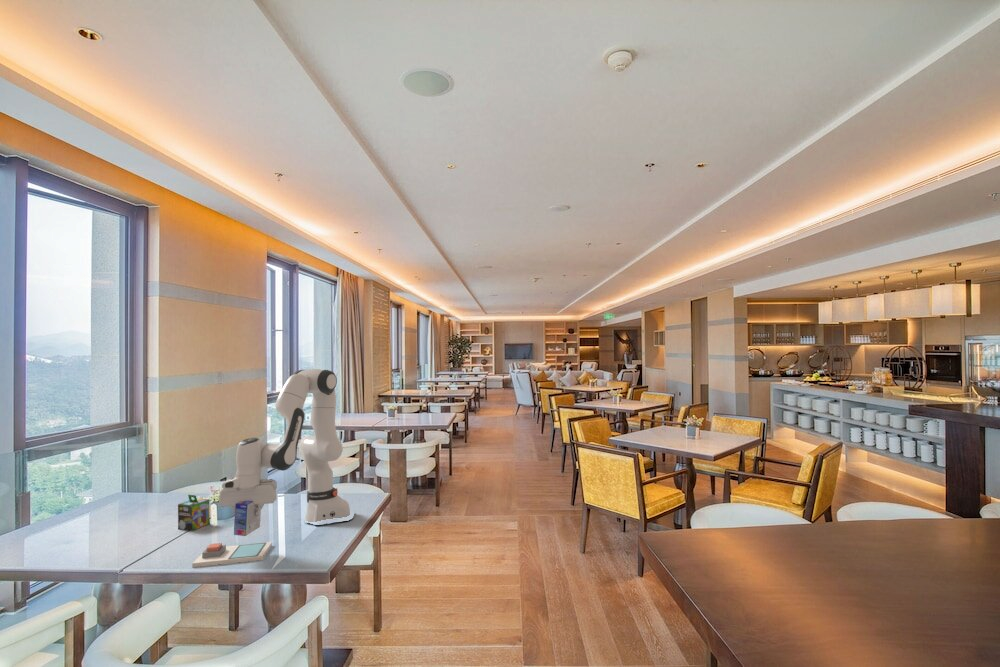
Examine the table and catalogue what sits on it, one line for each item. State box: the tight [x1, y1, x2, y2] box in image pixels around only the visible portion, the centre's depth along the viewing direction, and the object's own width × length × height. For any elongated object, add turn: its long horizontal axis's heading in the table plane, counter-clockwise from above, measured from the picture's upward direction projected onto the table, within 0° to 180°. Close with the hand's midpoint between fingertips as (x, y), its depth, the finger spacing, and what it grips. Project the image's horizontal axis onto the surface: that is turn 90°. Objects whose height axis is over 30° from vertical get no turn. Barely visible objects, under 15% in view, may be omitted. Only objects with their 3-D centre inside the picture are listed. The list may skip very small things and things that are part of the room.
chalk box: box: [177, 494, 211, 532], centre depth 218 cm, size 9×9×15 cm
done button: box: [206, 542, 223, 552], centre depth 183 cm, size 4×4×2 cm
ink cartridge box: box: [233, 500, 262, 537], centre depth 186 cm, size 10×6×14 cm, turn 177°
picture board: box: [191, 541, 273, 568], centre depth 185 cm, size 24×14×4 cm, turn 103°
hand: (248, 516), depth 186 cm, fingers closed on ink cartridge box, 6 cm apart
